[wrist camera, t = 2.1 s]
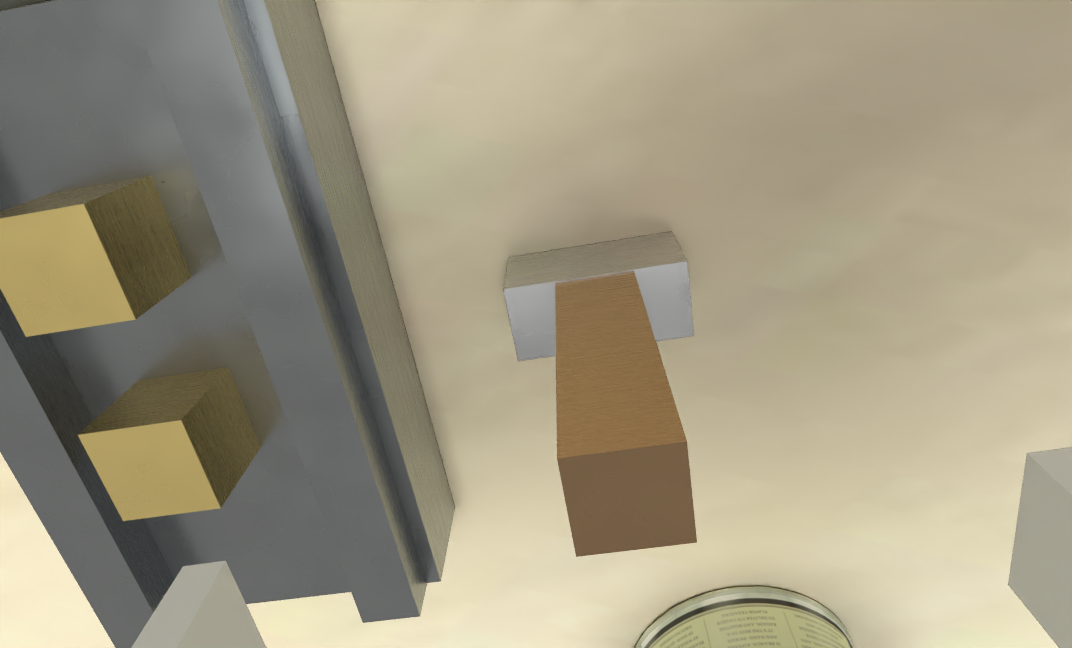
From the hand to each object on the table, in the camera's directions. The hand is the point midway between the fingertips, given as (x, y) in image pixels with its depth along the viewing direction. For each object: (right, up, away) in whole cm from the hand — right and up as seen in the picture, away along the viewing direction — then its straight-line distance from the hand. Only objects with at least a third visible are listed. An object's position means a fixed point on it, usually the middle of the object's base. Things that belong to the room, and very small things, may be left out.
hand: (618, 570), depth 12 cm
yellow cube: (-12, +1, +10) cm, 16 cm away
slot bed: (-12, +5, +13) cm, 19 cm away
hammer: (+1, +6, +13) cm, 14 cm away
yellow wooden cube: (-13, +7, +8) cm, 17 cm away
